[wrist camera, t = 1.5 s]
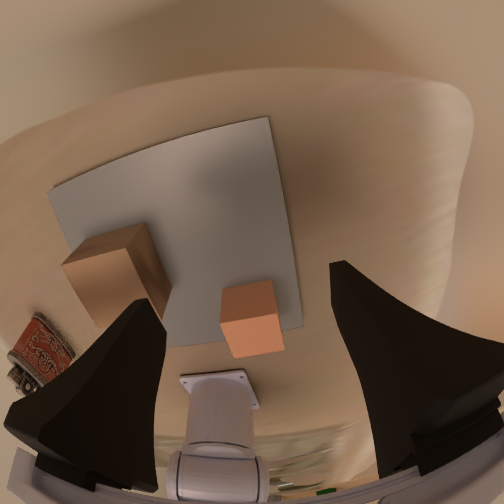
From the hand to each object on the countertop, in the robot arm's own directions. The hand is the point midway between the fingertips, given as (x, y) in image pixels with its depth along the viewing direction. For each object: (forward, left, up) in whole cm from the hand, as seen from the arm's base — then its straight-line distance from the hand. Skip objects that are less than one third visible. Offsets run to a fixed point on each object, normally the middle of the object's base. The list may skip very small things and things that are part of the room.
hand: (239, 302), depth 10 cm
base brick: (-2, +10, -10) cm, 14 cm away
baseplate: (-3, +6, -11) cm, 13 cm away
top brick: (-8, +1, -10) cm, 13 cm away
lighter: (-10, +27, -11) cm, 31 cm away
